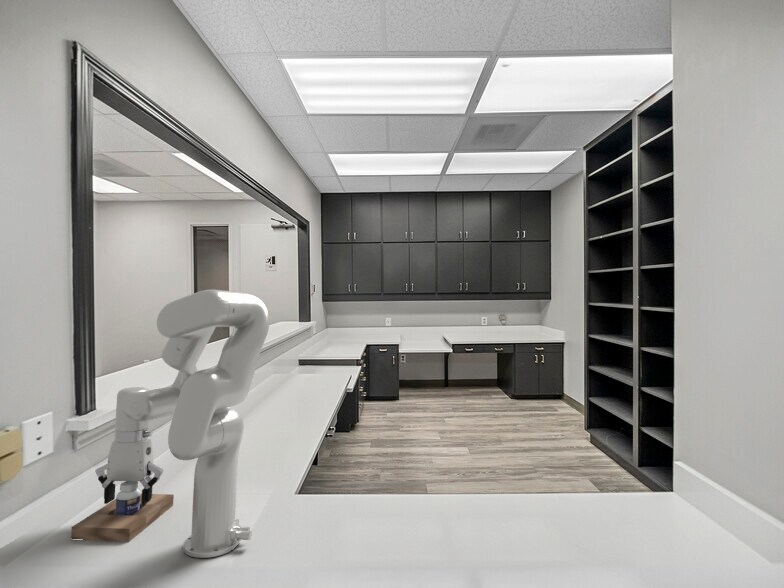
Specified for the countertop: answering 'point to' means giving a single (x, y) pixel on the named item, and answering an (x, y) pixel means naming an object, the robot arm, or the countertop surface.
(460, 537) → the countertop surface
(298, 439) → the countertop surface
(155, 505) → the socket block
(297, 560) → the countertop surface
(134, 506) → the pill bottle
